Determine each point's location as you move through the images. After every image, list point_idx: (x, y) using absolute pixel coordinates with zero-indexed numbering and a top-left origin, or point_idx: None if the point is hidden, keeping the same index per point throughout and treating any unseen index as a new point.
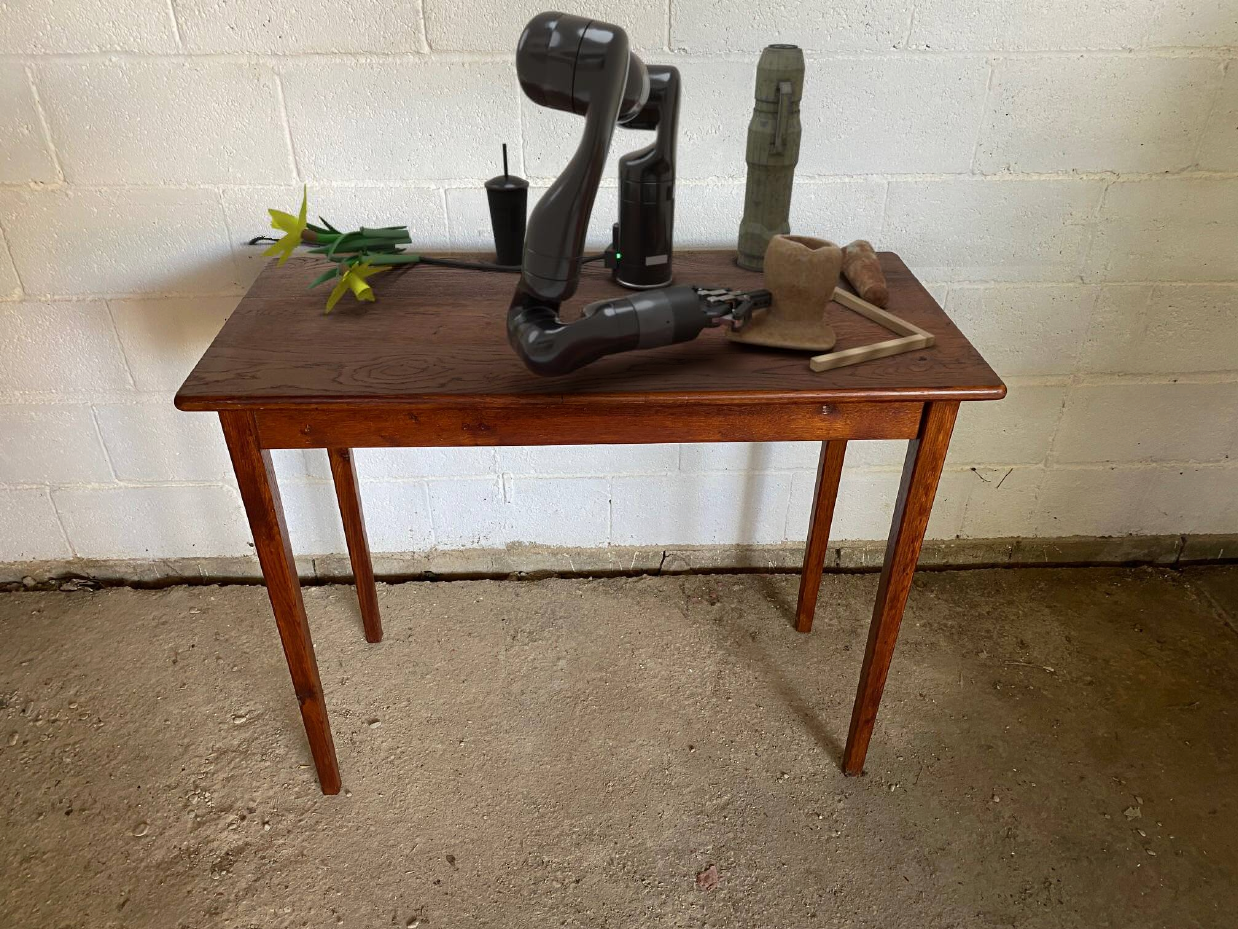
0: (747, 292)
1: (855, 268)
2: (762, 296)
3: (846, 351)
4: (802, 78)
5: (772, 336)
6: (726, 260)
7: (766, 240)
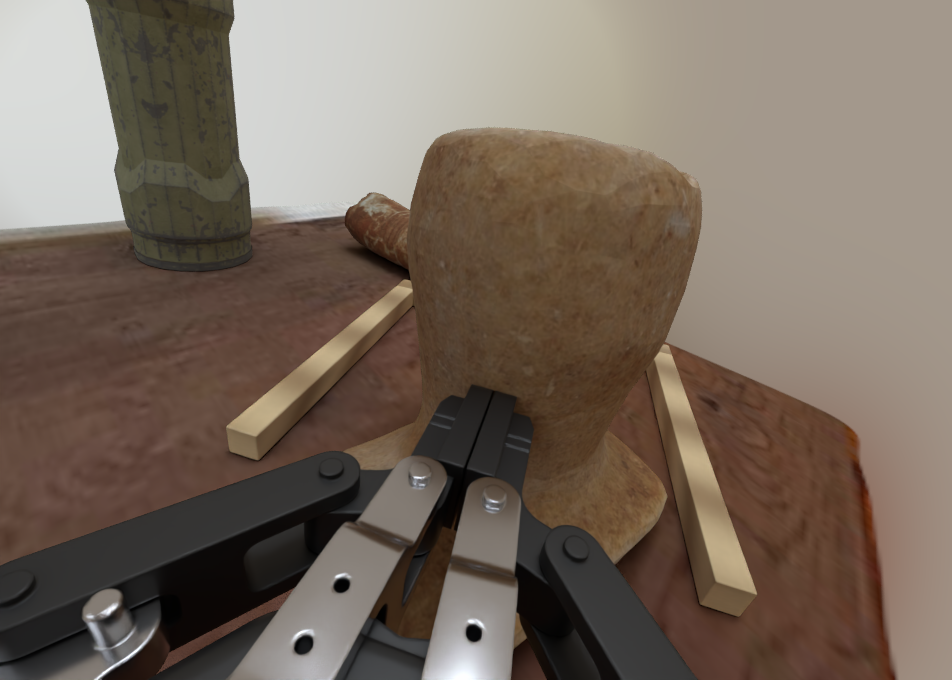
0: (449, 449)
1: None
2: (507, 433)
3: (694, 476)
4: None
5: None
6: (104, 256)
7: (208, 201)
